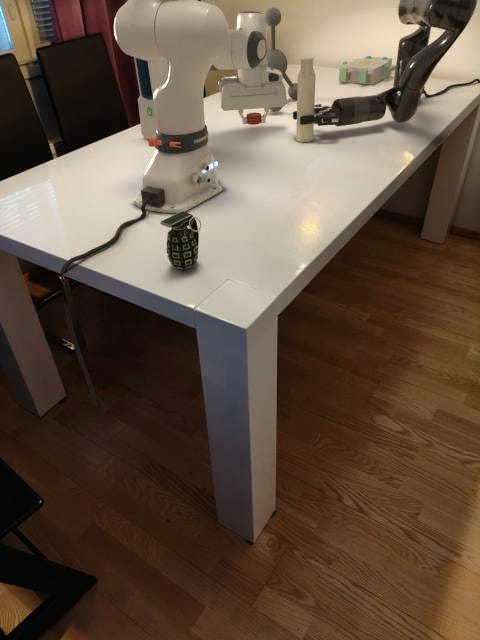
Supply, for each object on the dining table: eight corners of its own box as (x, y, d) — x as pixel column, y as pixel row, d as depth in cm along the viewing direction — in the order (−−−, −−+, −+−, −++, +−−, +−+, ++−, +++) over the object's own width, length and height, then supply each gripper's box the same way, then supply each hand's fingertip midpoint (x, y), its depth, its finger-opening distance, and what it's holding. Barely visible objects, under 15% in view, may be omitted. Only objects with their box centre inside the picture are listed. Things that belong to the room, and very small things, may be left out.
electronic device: (141, 137, 154) (123, 28, 136) (159, 131, 158) (144, 24, 140) (166, 145, 147) (151, 30, 129) (185, 138, 151) (172, 26, 133)
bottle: (309, 135, 148) (312, 55, 135) (315, 140, 144) (319, 58, 131) (294, 137, 147) (295, 57, 134) (299, 142, 143) (301, 60, 130)
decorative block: (357, 54, 211) (402, 57, 202) (356, 70, 215) (400, 74, 206) (330, 65, 195) (377, 69, 186) (329, 83, 199) (375, 87, 190)
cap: (243, 122, 153) (243, 115, 152) (254, 119, 156) (254, 111, 154) (253, 125, 150) (253, 117, 149) (264, 122, 153) (264, 114, 151)
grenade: (182, 278, 88) (175, 228, 82) (162, 268, 91) (153, 219, 85) (208, 263, 92) (203, 214, 85) (187, 253, 95) (181, 205, 89)
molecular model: (322, 103, 175) (328, 5, 157) (274, 116, 166) (273, 12, 147) (282, 92, 191) (282, 1, 172) (235, 103, 181) (230, 8, 163)
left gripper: (218, 79, 142) (221, 128, 150) (287, 74, 142) (287, 123, 151) (217, 75, 147) (220, 122, 155) (284, 70, 147) (284, 117, 156)
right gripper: (341, 92, 148) (288, 98, 144) (363, 103, 137) (306, 110, 133) (339, 117, 152) (288, 124, 149) (360, 130, 141) (305, 138, 138)
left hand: (254, 123), depth 153 cm, fingers closed on cap, 4 cm apart
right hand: (297, 118), depth 141 cm, fingers closed on bottle, 5 cm apart
